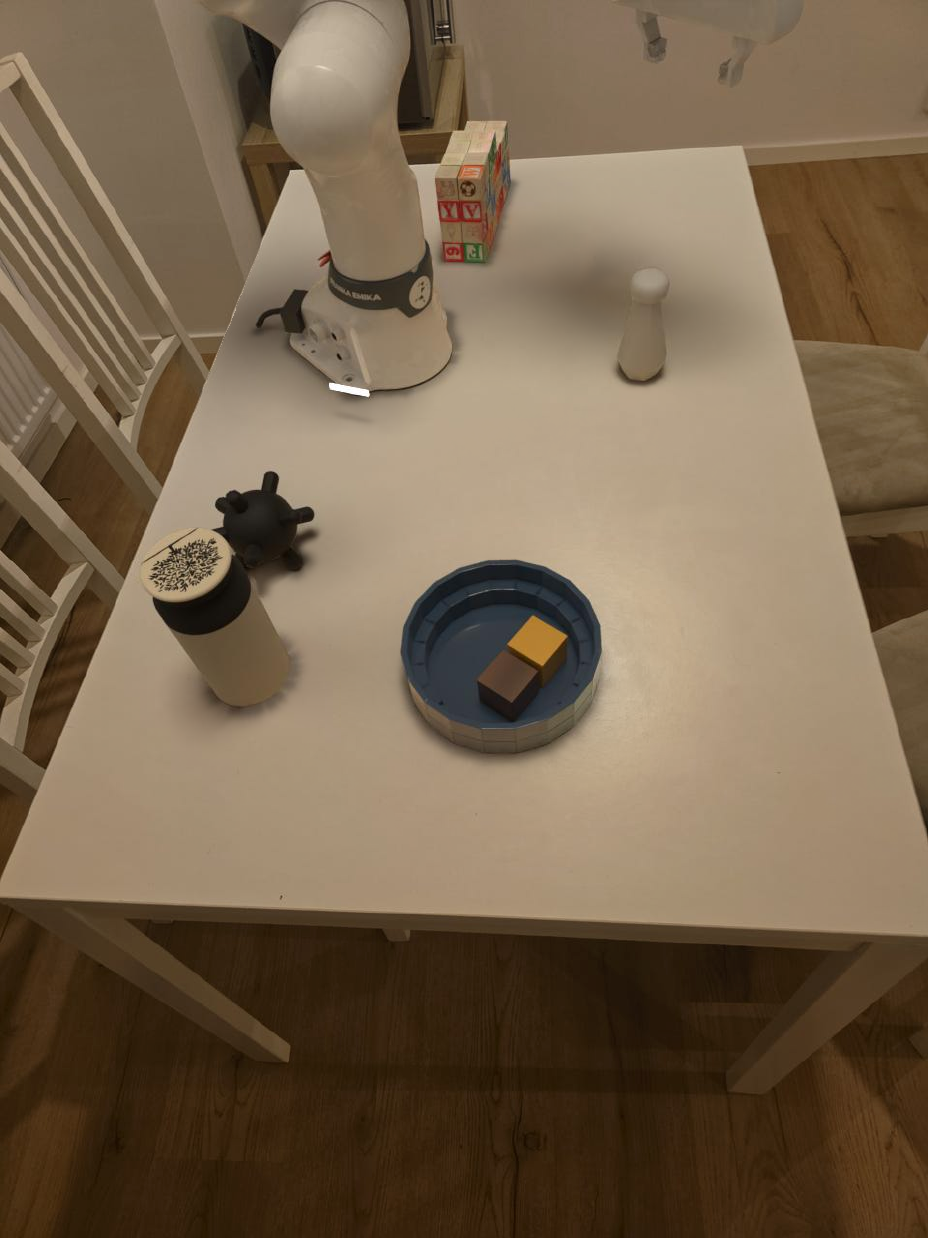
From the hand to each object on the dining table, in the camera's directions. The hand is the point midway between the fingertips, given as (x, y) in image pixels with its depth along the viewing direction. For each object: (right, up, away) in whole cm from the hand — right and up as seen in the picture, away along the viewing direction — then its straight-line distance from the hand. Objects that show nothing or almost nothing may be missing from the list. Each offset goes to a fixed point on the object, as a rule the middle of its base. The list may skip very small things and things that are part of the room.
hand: (690, 71), depth 80 cm
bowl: (-19, -59, -2) cm, 62 cm away
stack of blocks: (-20, +5, +41) cm, 47 cm away
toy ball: (-44, -47, +9) cm, 65 cm away
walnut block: (-18, -62, -5) cm, 65 cm away
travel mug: (-44, -60, 0) cm, 74 cm away
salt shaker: (-1, -24, +20) cm, 31 cm away
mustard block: (-16, -59, -3) cm, 61 cm away
